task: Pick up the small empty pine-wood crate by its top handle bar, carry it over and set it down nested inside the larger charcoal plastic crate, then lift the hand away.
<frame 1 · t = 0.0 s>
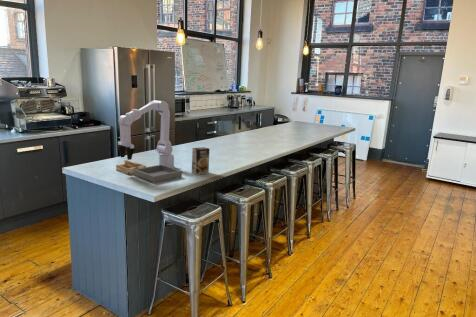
hand: (126, 158, 216), 10 cm above the countertop, tool pointing down, fingers open, 7 cm apart
charcoal crate: (158, 176, 217), on the countertop
coffee box: (200, 173, 229), on the countertop
pine crate: (131, 170, 227), on the countertop
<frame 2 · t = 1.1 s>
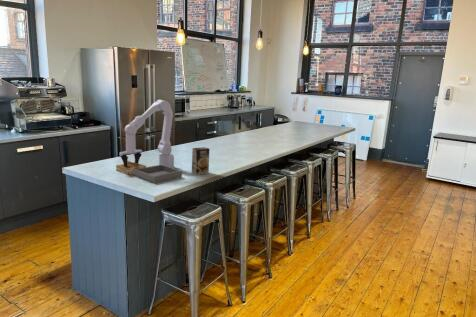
hand: (131, 165, 226), 3 cm above the countertop, tool pointing down, fingers open, 7 cm apart
nothing on the countertop moved.
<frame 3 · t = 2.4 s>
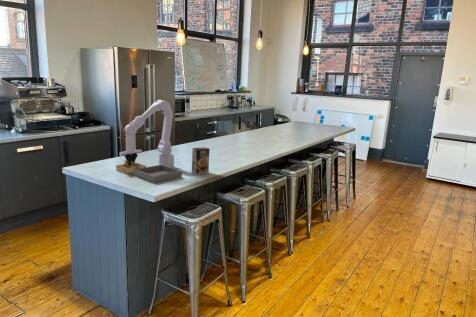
hand: (131, 165, 226), 3 cm above the countertop, tool pointing down, fingers closed on pine crate
pine crate: (131, 170, 227), on the countertop, touching gripper
everything else where it was.
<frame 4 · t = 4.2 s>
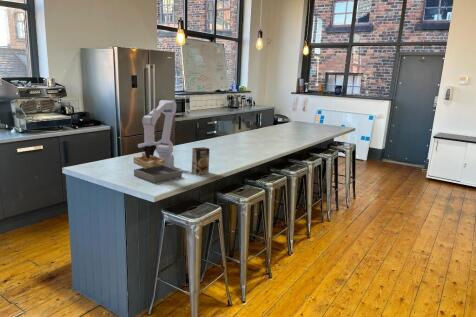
hand: (149, 158, 218), 10 cm above the countertop, tool pointing down, fingers closed on pine crate
pine crate: (148, 164, 219), point 7 cm above the countertop, touching gripper
everything else where it was.
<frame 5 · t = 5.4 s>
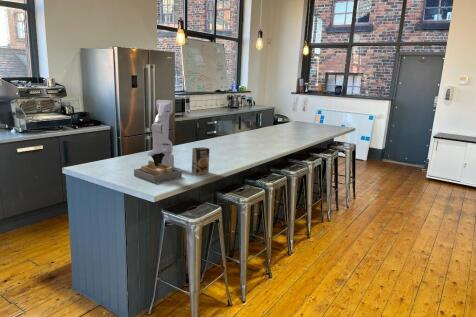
hand: (157, 165, 215), 7 cm above the countertop, tool pointing down, fingers closed on pine crate
pine crate: (156, 172, 217), point 3 cm above the countertop, touching gripper
everything else where it was.
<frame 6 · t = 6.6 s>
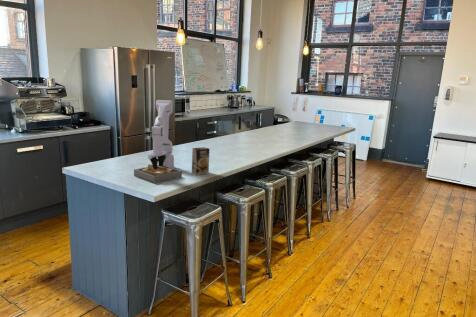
hand: (157, 168, 216), 5 cm above the countertop, tool pointing down, fingers open, 4 cm apart
pine crate: (157, 175, 217), point 1 cm above the countertop, touching charcoal crate
everything else where it was.
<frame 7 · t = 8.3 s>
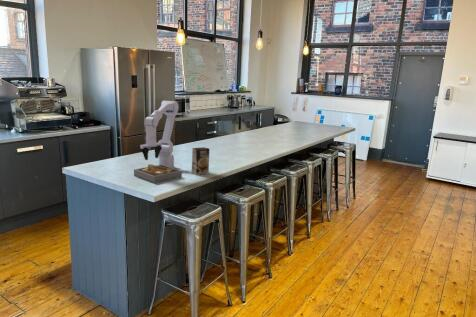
hand: (151, 158, 221), 9 cm above the countertop, tool pointing down, fingers open, 7 cm apart
nothing on the countertop moved.
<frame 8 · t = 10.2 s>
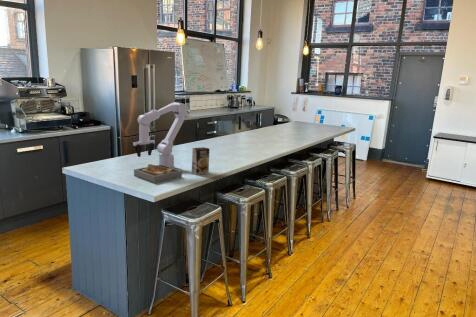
hand: (144, 155, 227), 9 cm above the countertop, tool pointing down, fingers open, 7 cm apart
nothing on the countertop moved.
at the end: pine crate 0.6 cm off-centre on the charcoal crate, point 0.8 cm above the charcoal crate's base; pine crate tilted 0°; the gripper is holding nothing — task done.
